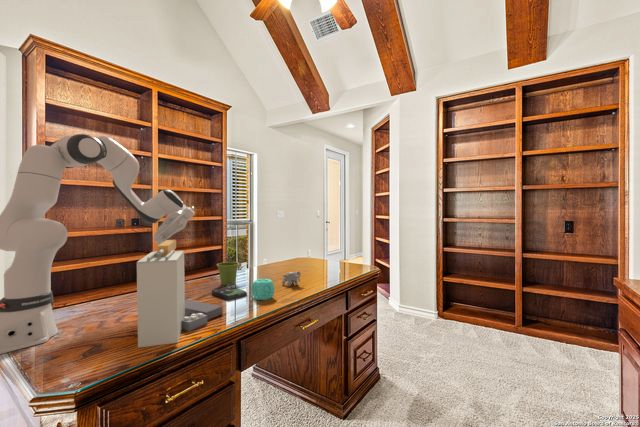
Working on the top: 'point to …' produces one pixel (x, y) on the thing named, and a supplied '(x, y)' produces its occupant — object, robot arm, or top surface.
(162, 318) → the slotted cream upright block
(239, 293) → the disk drive
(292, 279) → the gray elephant figurine
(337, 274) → the top surface
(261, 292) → the decorative dice
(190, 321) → the switch box
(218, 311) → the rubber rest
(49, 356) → the top surface
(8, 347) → the robot arm
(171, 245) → the long orange square stick
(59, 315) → the top surface
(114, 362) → the top surface
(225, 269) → the plant pot
